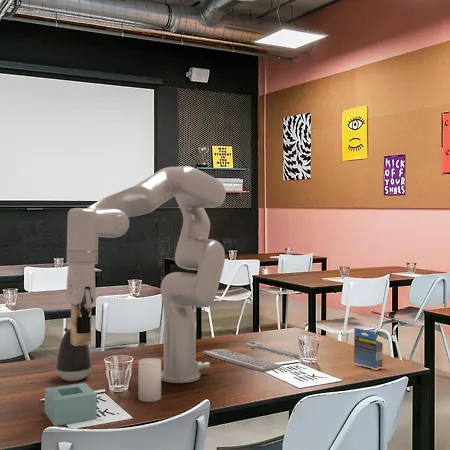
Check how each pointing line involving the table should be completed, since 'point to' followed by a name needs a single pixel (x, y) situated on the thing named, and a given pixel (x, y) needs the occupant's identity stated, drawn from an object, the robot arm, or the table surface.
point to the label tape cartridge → (367, 349)
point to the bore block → (70, 404)
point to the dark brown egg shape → (72, 359)
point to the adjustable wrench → (270, 349)
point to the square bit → (74, 336)
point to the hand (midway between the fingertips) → (80, 330)
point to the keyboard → (243, 360)
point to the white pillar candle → (149, 380)
